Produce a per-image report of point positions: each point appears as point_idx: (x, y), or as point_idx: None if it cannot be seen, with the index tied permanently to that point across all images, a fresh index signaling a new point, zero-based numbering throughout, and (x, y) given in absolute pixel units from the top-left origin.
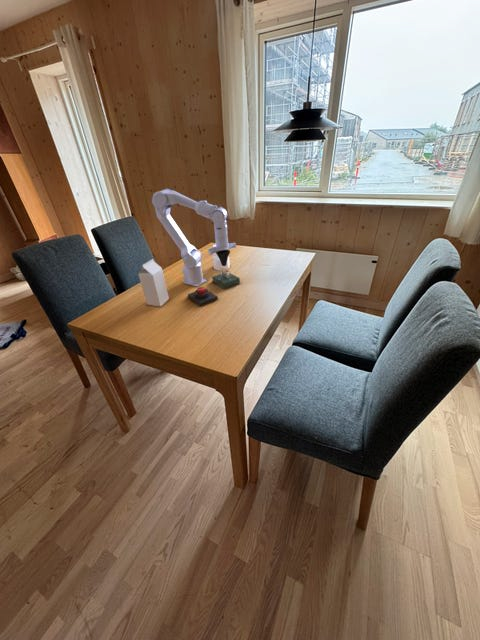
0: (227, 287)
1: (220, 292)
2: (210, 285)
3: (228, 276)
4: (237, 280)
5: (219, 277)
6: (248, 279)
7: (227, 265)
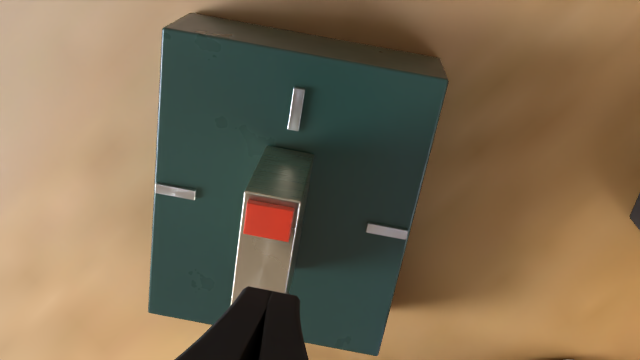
0: (399, 52)
1: (549, 38)
2: (462, 271)
3: (280, 161)
4: (213, 29)
5: (341, 269)
6: (22, 7)
7: None
